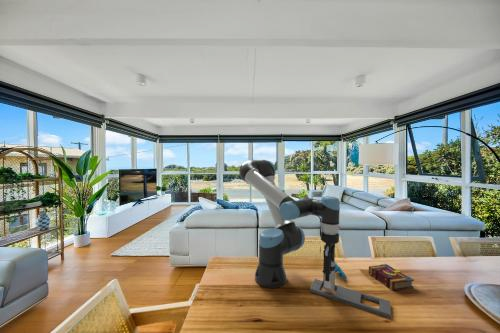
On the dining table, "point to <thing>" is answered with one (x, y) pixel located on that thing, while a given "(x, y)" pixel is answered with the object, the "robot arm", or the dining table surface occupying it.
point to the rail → (352, 298)
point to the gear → (339, 270)
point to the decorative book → (391, 277)
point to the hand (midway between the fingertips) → (328, 284)
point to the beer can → (331, 277)
